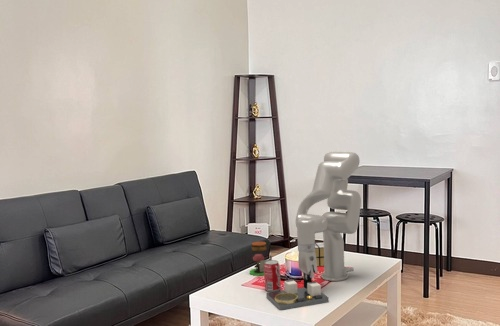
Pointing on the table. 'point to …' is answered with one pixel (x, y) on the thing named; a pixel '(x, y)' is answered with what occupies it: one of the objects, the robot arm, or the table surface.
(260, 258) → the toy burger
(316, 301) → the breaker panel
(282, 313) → the table surface
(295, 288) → the block
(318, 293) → the block
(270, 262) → the soda can
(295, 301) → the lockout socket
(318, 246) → the puzzle cube
